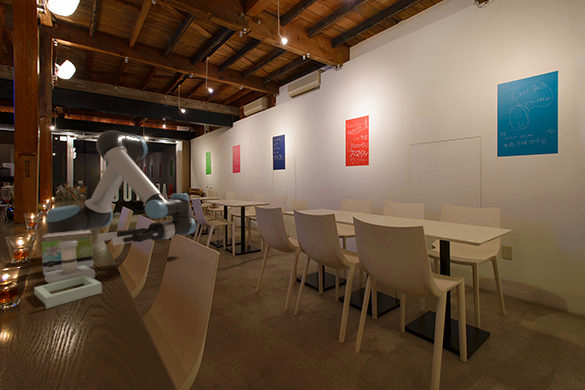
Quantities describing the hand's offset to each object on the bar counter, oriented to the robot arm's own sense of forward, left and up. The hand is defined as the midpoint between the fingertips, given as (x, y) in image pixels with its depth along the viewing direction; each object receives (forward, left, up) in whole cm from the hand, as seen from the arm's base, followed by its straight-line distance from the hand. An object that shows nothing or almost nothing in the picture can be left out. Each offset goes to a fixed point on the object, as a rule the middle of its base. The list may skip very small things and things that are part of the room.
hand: (105, 239), depth 103 cm
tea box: (-18, -7, -13) cm, 23 cm away
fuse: (-1, -11, -12) cm, 16 cm away
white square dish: (-1, -11, -13) cm, 17 cm away
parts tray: (+13, -15, -13) cm, 24 cm away
